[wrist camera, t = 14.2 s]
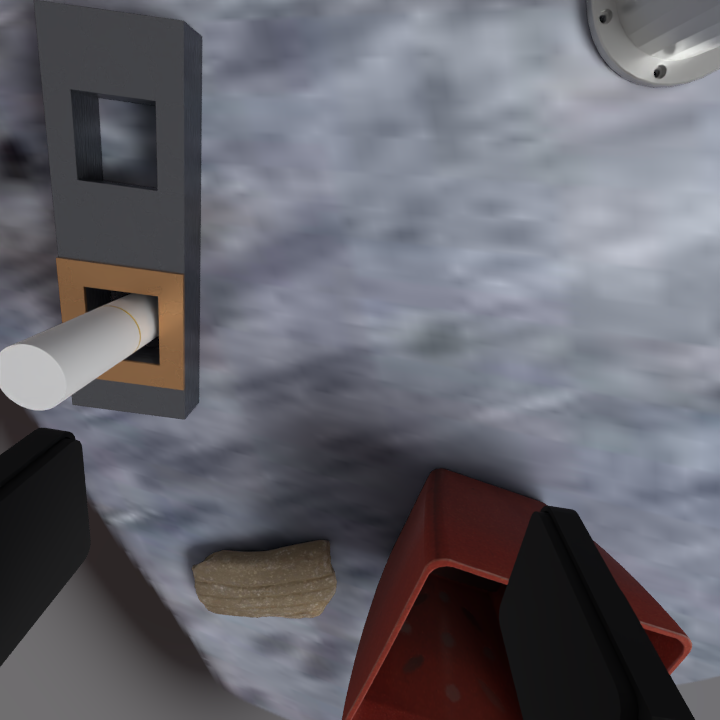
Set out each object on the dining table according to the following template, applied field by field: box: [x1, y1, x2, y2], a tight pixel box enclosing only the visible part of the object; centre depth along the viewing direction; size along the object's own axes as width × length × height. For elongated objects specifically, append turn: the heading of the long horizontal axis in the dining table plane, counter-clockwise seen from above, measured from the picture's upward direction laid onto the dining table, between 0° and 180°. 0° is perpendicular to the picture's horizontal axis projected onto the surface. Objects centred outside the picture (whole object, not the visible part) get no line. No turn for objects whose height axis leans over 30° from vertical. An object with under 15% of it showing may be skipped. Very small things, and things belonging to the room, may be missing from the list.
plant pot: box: [342, 468, 692, 720], centre depth 41 cm, size 19×19×17 cm
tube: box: [0, 293, 159, 410], centre depth 35 cm, size 4×4×15 cm
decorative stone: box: [192, 540, 337, 618], centre depth 51 cm, size 10×16×4 cm, turn 97°
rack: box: [34, 0, 202, 419], centre depth 38 cm, size 30×10×4 cm, turn 173°
